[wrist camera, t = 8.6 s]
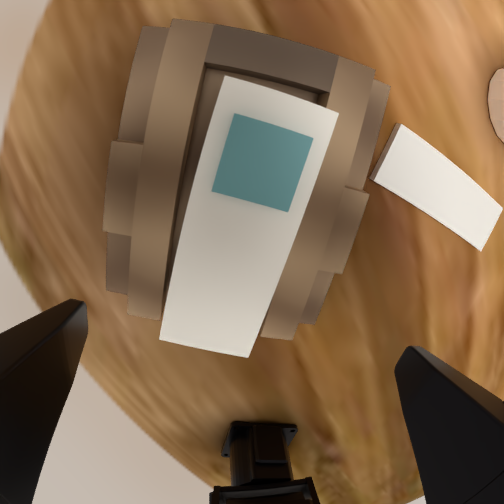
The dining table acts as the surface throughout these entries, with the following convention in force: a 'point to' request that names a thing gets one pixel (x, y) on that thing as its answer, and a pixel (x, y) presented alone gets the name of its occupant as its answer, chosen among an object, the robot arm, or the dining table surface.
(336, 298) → the dining table surface
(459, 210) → the strip
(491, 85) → the white cup
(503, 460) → the robot arm
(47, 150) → the dining table surface
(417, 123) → the dining table surface
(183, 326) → the white box
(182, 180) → the cradle
